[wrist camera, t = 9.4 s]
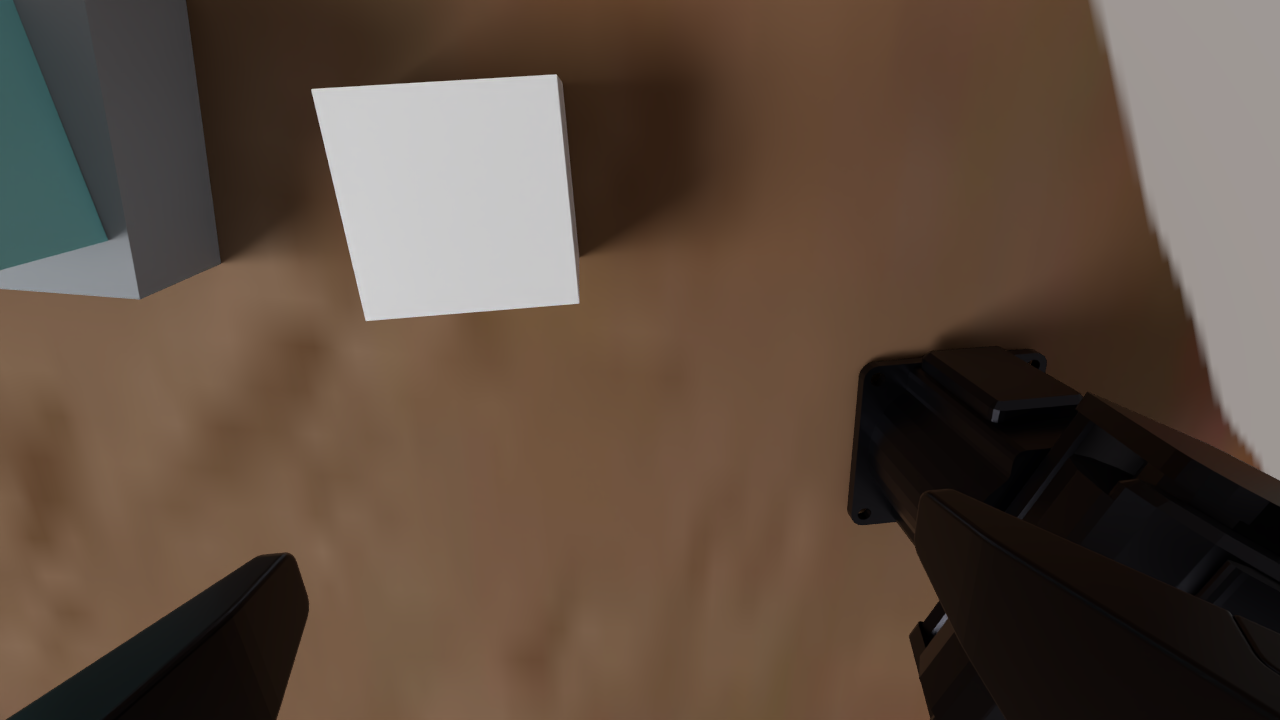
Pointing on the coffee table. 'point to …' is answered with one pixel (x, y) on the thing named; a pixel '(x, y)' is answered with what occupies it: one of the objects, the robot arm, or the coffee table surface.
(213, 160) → the coffee table surface
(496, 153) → the white block
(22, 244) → the teal block
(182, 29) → the slate base block
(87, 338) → the coffee table surface
